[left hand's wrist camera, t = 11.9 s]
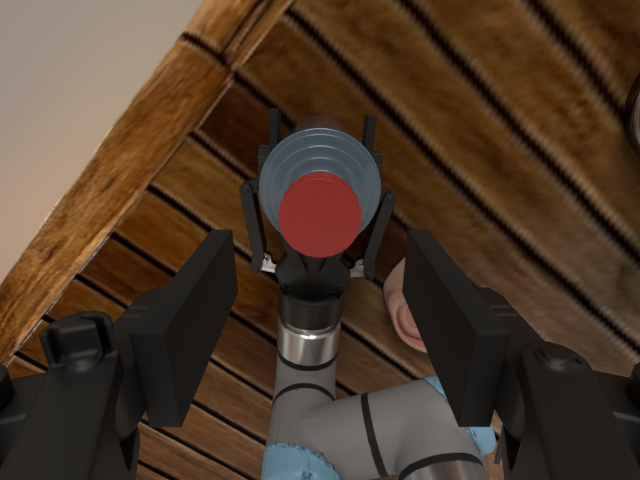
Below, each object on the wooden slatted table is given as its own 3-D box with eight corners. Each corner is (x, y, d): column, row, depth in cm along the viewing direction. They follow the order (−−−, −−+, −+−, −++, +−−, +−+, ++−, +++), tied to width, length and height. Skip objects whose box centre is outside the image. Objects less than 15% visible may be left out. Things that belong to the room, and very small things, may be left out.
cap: (294, 159, 20) (292, 164, 18) (371, 186, 20) (375, 194, 19) (271, 232, 21) (267, 243, 20) (343, 255, 22) (344, 268, 20)
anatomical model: (402, 257, 43) (493, 274, 44) (395, 244, 47) (480, 261, 48) (373, 347, 48) (456, 362, 49) (369, 329, 52) (446, 343, 52)
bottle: (297, 103, 41) (267, 112, 18) (366, 129, 42) (424, 169, 19) (275, 174, 44) (225, 261, 21) (340, 196, 45) (363, 303, 22)
